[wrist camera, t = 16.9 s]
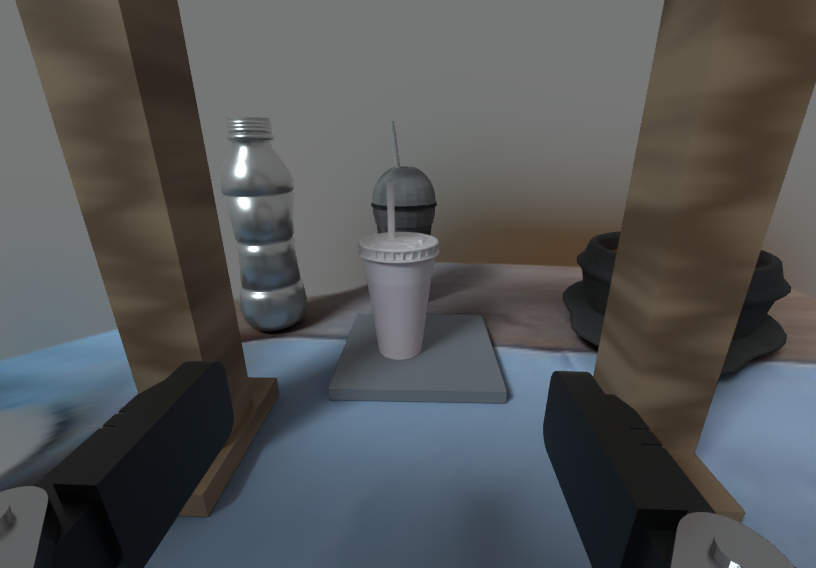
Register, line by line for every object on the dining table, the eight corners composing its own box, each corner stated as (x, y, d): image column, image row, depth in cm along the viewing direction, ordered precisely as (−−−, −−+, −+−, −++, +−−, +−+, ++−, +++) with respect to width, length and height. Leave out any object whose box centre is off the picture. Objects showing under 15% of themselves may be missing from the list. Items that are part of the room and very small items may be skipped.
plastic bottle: (229, 334, 38) (186, 117, 31) (273, 307, 44) (245, 121, 37) (283, 344, 36) (250, 114, 29) (321, 315, 42) (301, 119, 35)
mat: (329, 399, 28) (327, 388, 28) (358, 322, 40) (357, 313, 40) (506, 403, 27) (507, 391, 27) (481, 323, 40) (481, 314, 39)
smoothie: (376, 328, 36) (370, 179, 32) (442, 335, 35) (446, 180, 30) (352, 363, 31) (340, 186, 26) (430, 373, 29) (432, 188, 24)
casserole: (592, 275, 53) (602, 216, 51) (768, 308, 43) (794, 235, 40) (521, 346, 35) (531, 260, 32) (798, 434, 24) (849, 316, 21)
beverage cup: (440, 311, 43) (444, 118, 36) (375, 313, 42) (366, 118, 35) (430, 288, 49) (432, 122, 42) (375, 290, 49) (367, 122, 42)
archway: (86, 512, 20) (-301, -392, 9) (195, 393, 29) (68, -120, 18) (768, 535, 18) (1254, -519, 8) (651, 401, 27) (794, -152, 17)
